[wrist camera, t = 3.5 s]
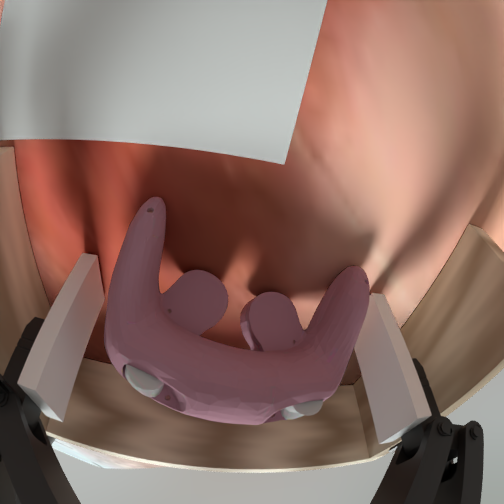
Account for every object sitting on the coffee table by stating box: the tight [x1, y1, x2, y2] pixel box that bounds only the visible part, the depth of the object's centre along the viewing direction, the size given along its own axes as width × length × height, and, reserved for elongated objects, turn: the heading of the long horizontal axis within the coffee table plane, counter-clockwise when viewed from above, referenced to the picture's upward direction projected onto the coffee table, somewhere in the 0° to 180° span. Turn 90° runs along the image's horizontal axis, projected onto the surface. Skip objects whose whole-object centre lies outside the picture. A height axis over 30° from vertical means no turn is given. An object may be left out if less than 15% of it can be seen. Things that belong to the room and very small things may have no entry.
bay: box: [0, 147, 504, 473], centre depth 12 cm, size 22×15×6 cm
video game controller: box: [104, 197, 370, 425], centre depth 11 cm, size 10×5×7 cm, turn 67°
